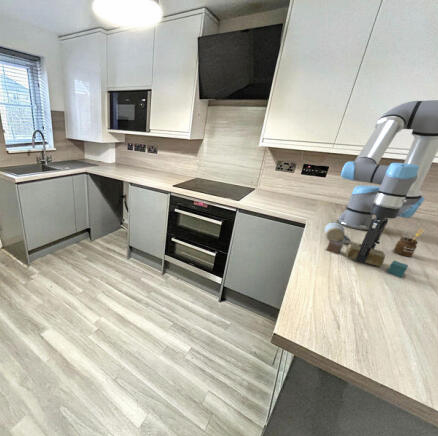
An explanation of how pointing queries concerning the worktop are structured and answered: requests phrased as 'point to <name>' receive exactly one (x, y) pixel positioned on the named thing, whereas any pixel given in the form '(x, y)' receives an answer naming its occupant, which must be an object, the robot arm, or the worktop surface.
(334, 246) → the walnut block
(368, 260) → the stone block
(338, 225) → the ceramic mug
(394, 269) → the teal block
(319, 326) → the worktop surface
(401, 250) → the utensil holder
